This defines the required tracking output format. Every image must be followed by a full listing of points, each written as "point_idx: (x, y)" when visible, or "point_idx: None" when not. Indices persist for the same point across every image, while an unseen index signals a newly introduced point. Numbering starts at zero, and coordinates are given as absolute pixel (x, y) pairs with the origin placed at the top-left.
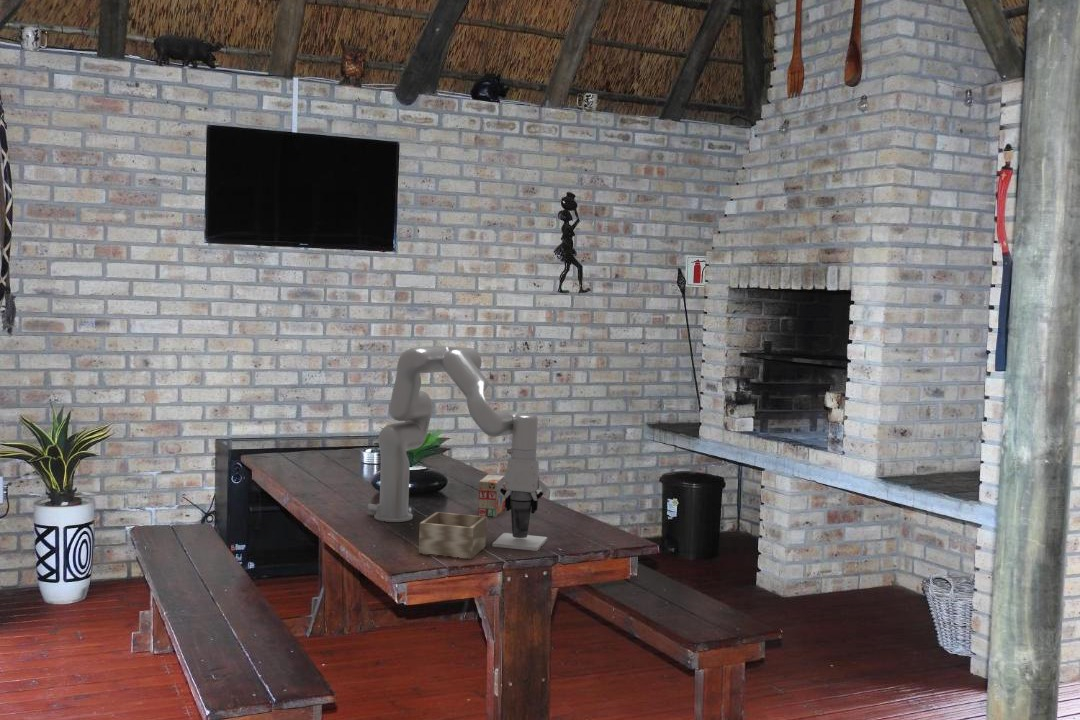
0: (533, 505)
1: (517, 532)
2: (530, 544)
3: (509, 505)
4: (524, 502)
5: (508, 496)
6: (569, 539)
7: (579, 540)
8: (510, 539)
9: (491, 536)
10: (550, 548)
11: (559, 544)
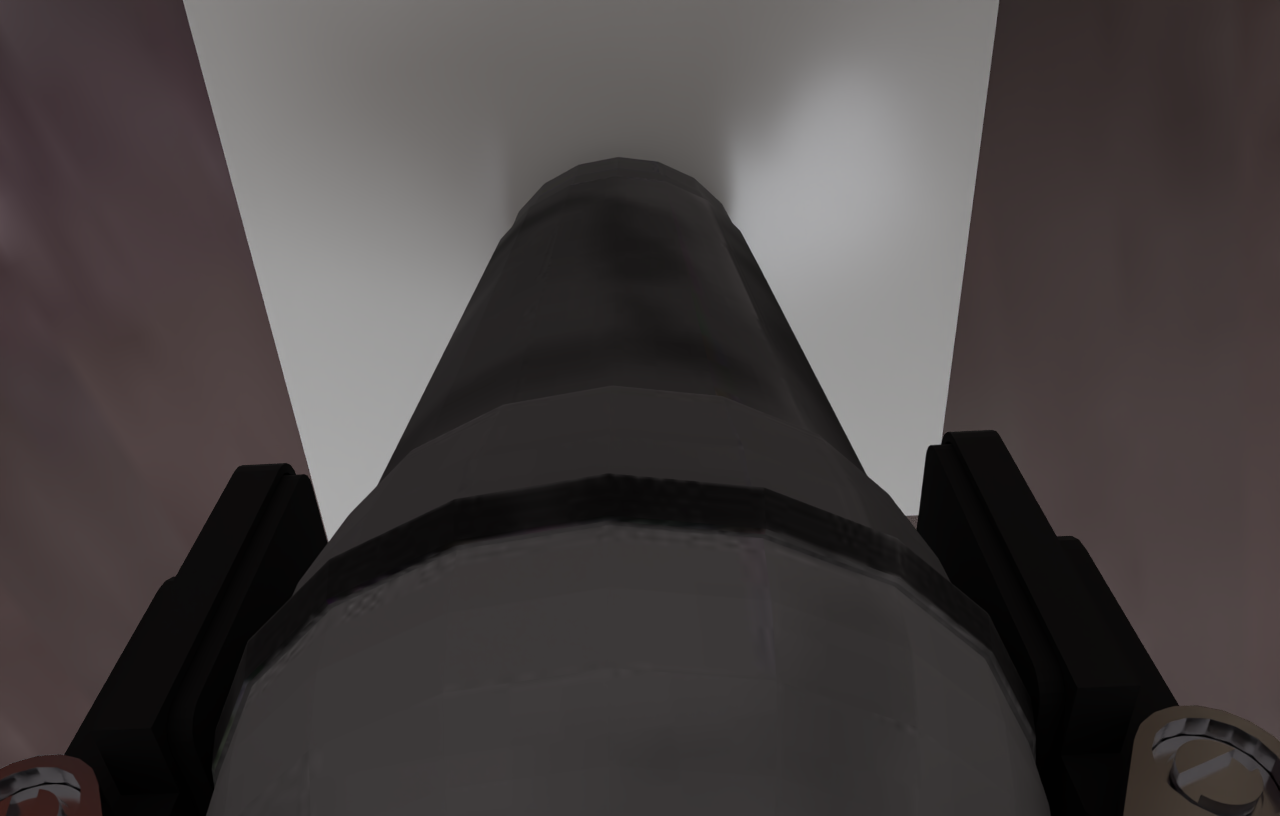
0: (162, 606)
1: (628, 177)
2: (361, 47)
3: (960, 565)
4: (388, 543)
5: (1113, 799)
6: (126, 642)
7: (4, 647)
8: (765, 219)
9: (1080, 411)
10: (83, 137)
11: (99, 399)
